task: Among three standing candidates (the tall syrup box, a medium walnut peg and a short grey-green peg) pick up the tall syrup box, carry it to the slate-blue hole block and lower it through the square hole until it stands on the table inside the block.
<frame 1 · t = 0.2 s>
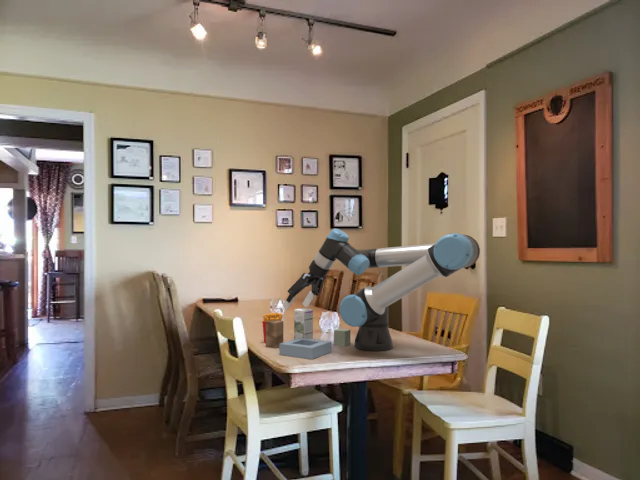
hand: (295, 306, 195), 15 cm above the table, tool tilted 35°, fingers open, 13 cm apart
greygreen peg: (342, 344, 197), on the table
french fries: (272, 342, 201), on the table
syrup box: (303, 345, 196), on the table
hole block: (305, 353, 180), on the table
walnut peg: (274, 346, 192), on the table
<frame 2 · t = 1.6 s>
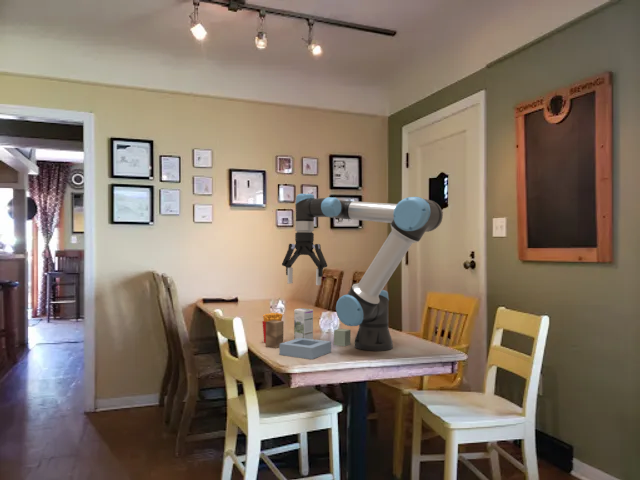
hand: (303, 284, 196), 25 cm above the table, tool pointing down, fingers open, 13 cm apart
nothing on the table moved.
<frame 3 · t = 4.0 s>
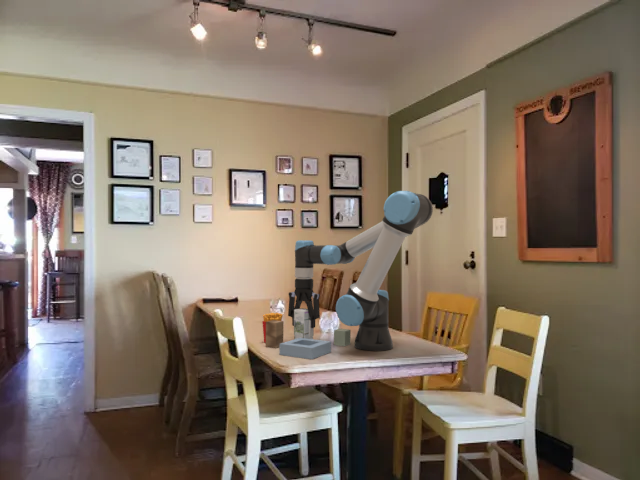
hand: (303, 335, 196), 4 cm above the table, tool pointing down, fingers closed on syrup box, 6 cm apart
syrup box: (303, 345, 196), on the table, touching gripper
everything else where it was.
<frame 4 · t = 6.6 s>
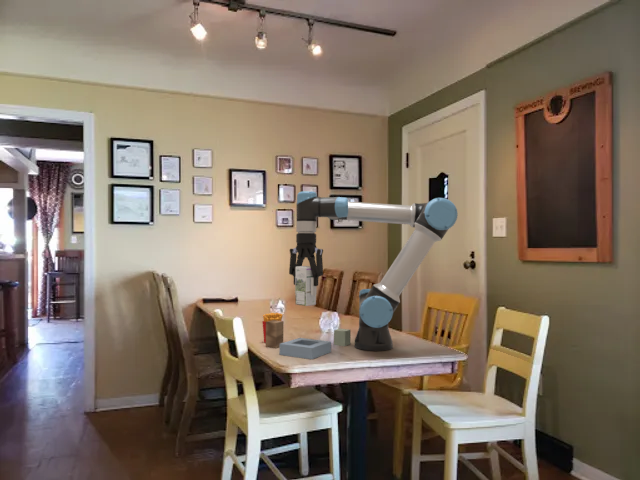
hand: (305, 294, 181), 22 cm above the table, tool pointing down, fingers closed on syrup box, 6 cm apart
syrup box: (305, 305, 181), point 18 cm above the table, touching gripper
everything else where it was.
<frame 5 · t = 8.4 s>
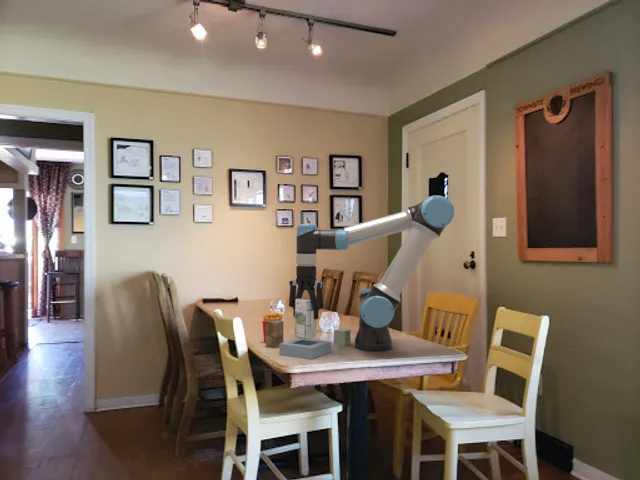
hand: (305, 326, 180), 10 cm above the table, tool pointing down, fingers closed on syrup box, 6 cm apart
syrup box: (305, 338, 180), point 6 cm above the table, touching gripper
everything else where it was.
when the fingers open (6 cm above the table, at t = 9.4 s): syrup box drops 2 cm, resting in hole block.
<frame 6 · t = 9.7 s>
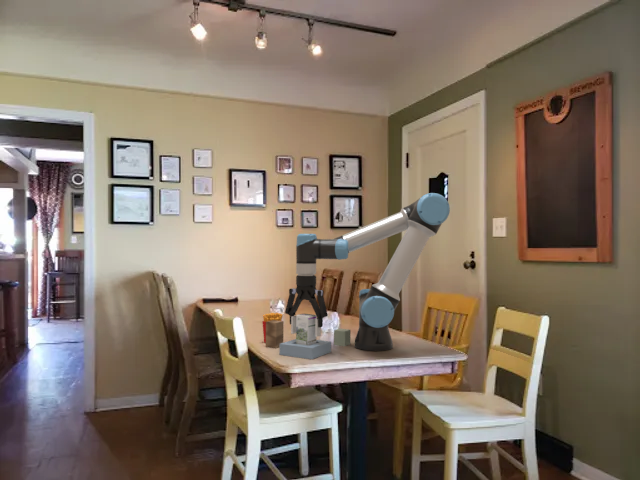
hand: (305, 334, 180), 7 cm above the table, tool pointing down, fingers open, 10 cm apart
syrup box: (306, 353, 180), resting in hole block
everything else where it was.
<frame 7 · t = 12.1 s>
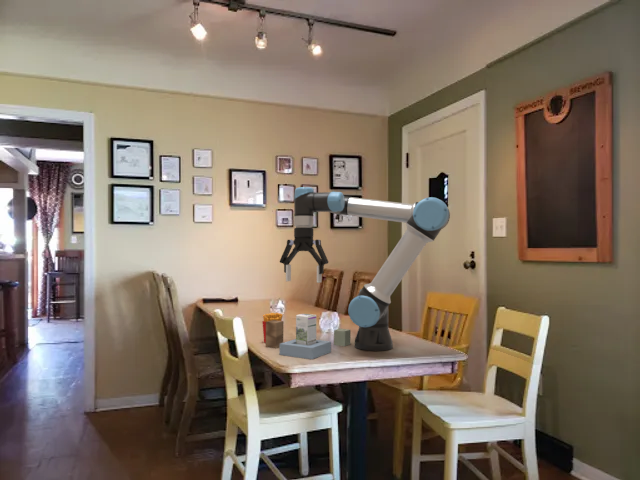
hand: (303, 281, 188), 26 cm above the table, tool pointing down, fingers open, 13 cm apart
nothing on the table moved.
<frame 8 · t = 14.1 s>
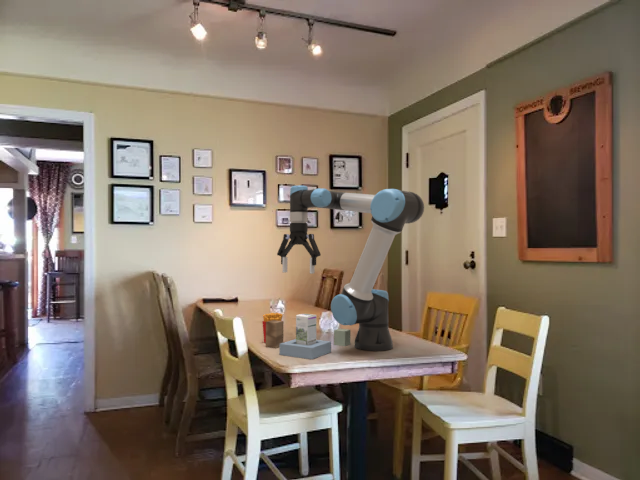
hand: (298, 273, 204), 29 cm above the table, tool pointing down, fingers open, 13 cm apart
nothing on the table moved.
at the end: syrup box 0.2 cm off-centre on the hole block, point 0.0 cm above the hole block's base; syrup box tilted 0°; the gripper is holding nothing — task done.
